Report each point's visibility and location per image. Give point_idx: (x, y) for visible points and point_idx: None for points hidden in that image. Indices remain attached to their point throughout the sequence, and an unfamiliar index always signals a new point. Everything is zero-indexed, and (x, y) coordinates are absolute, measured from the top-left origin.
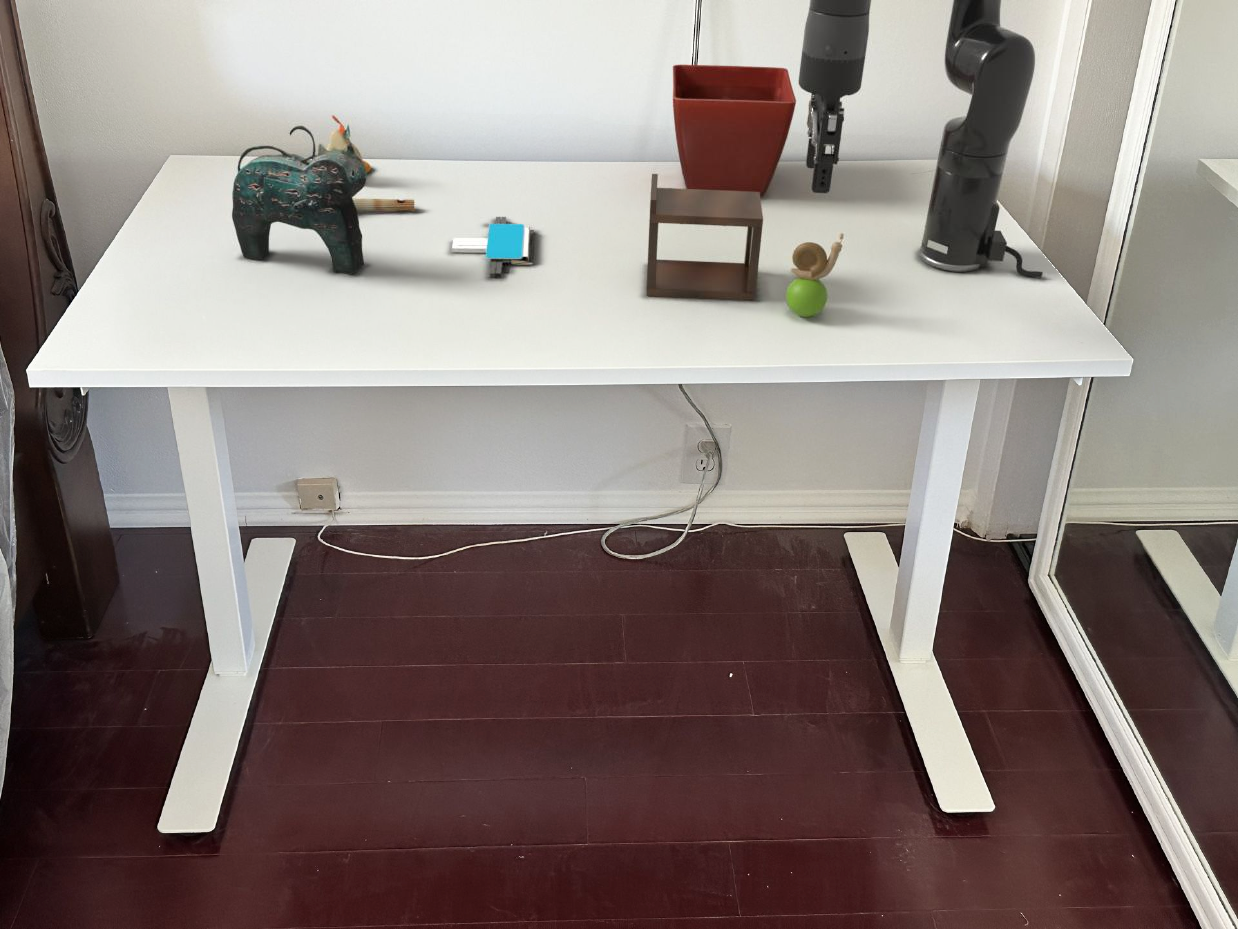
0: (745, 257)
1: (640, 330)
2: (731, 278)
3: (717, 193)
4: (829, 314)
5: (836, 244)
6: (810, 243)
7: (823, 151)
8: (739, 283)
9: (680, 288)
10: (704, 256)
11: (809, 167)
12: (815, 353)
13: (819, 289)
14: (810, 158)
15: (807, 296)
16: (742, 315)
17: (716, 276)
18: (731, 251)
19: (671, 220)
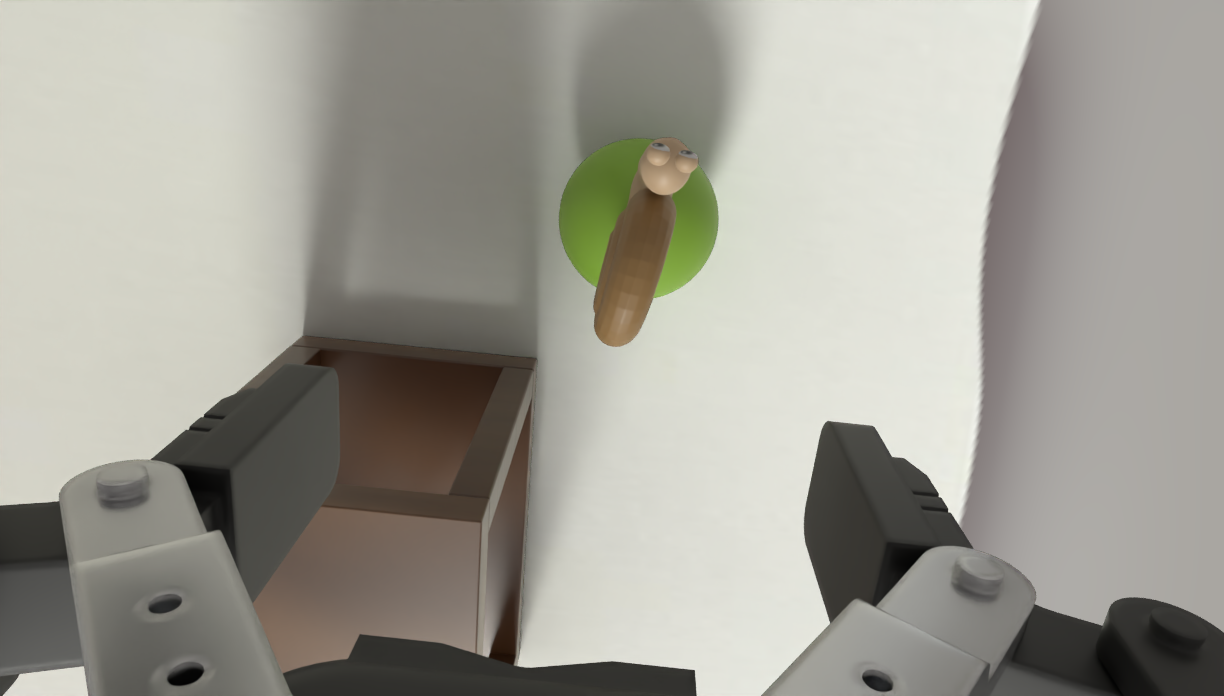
0: None
1: (730, 686)
2: (424, 431)
3: None
4: (637, 108)
5: (681, 176)
6: (636, 297)
7: (277, 434)
8: (461, 411)
9: (511, 589)
10: None
11: (336, 457)
12: (925, 217)
13: (690, 194)
14: (310, 495)
15: (709, 241)
16: (642, 410)
17: (413, 476)
18: (148, 379)
19: None
